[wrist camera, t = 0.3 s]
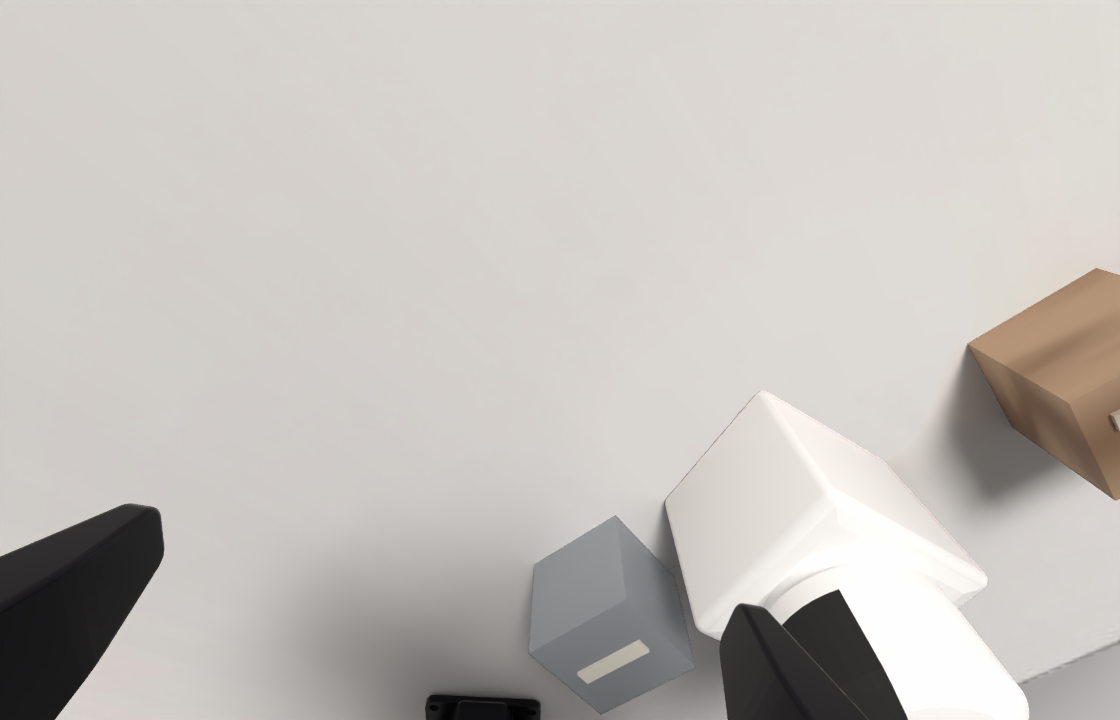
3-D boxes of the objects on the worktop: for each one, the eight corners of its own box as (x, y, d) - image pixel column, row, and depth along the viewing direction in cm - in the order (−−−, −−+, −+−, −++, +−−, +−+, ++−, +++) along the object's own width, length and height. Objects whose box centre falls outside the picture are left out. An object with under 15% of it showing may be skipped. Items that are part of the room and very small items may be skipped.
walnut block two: (1132, 361, 23) (1281, 427, 18) (1010, 426, 24) (1119, 503, 19) (1094, 267, 21) (1246, 313, 16) (965, 342, 22) (1072, 405, 18)
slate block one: (674, 575, 28) (696, 670, 23) (595, 619, 29) (601, 718, 24) (615, 514, 26) (626, 602, 21) (534, 563, 27) (528, 656, 23)
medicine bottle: (779, 562, 27) (922, 867, 16) (660, 501, 26) (729, 791, 15) (884, 459, 25) (1139, 739, 14) (759, 384, 23) (932, 631, 12)
